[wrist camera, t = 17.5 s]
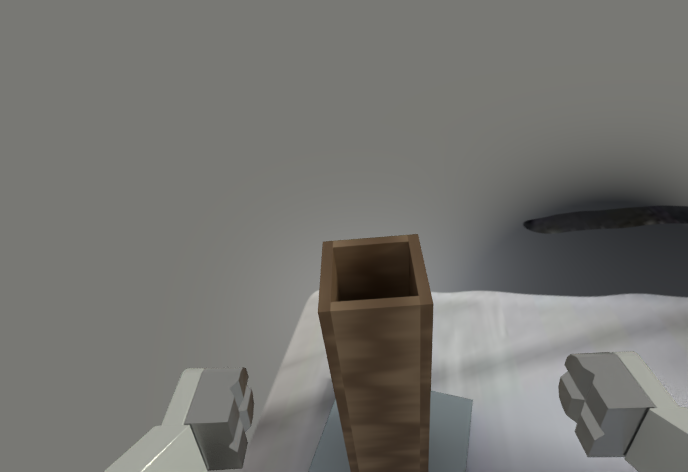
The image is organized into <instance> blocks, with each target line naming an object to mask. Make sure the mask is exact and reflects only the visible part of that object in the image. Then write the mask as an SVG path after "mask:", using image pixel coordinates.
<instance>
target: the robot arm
mask: <svg viewBox="0 0 688 472" xmlns="http://www.w3.org/2000/svg"><path fill="white" fill-rule="evenodd" d="M565 366H566V368H567V370H568V372H566V373H565V374H564V375H563V376H561V378H560V382H559V386H558V387H559V398H560V401H561V404H562V407H563V409H564V411H565V413H566V415H567V416H568V417H570V418H571V419H572V420H574V421H575V422H576V423H577V425H576V429H575V433H576V435H577V437H578V439H579V441H580V443H581V445H582V447H583V449H584V451H585V453H586V455H587V457H625V458H624V459H625V460H626V461H627V462H628V463H629V464H631V465H632V466H633V467H634V468H635V469H636V470H637V471H638V472H688V408H687V407H679V406H678V405H677V403H676V402H675V401H674V399H673V398H672V397H671V396H670V394H669V393H668V392H667V390H666V389H665V388H664V387H663V385H662V384H661V383H660V381H659V380H658V379H657V378H656V376H655V375H654V374H653V373H652V371H651V370H650V369H649V367H648V366H647V365H646V364H645V362H644V361H643V360H642V358H641V357H640V356H639V355H638V354H637V353H635V352H634V351H630V352H612V353H610V352H602V353H583V354H570V355H569V356H568V357H567V359H566V362H565ZM247 381H248V374H247V371H246V368H243V367H242V368H193V369H192V368H191V369H186V370H185V371H184V372H183V373H182V374H181V377H180V379H179V382H178V384H177V387H176V389H175V391H174V394H173V396H172V399H171V401H170V404H169V407H168V409H167V412H166V414H165V416H164V419H163V421H162V424H161V426H154V427H153V428H152V429H151V430H150V431H149V432H148V433H146V434H145V435H144V436H143V437H142V438H141V439H140V440H139V441H137V442H136V443H135V444H134V445H133V446H132V447H131V448H130V449H128V450H127V451H126V452H125V453H124V454H123V455H122V456H121V457H120V458H119V459H117V460H116V461H115V462H114V463H113V464H112V465H111V466H110V467H108V468H107V469H106V470H105V471H104V472H208V471H209V470H225V469H242V468H243V463H244V458H245V453H246V449H247V444H248V442H247V438H246V435H245V432H246V431H247V430H248V429H249V428H250V427H251V424H252V418H253V408H254V401H253V393H252V389H251V388H250V387H249V386H247Z"/></svg>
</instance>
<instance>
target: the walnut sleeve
mask: <svg viewBox="0 0 688 472" xmlns="http://www.w3.org/2000/svg"><path fill="white" fill-rule="evenodd" d="M318 315H319V320H320V325H321V329H322V334H323V339H324V344H325V349H326V354H327V359H328V364H329V369H330V373H331V378H332V383H333V388H334V393H335V398H336V403H337V408H338V412H339V417H340V422H341V427H342V432H343V437H344V442H345V447H346V451H347V456H348V461H349V466H350V471H351V472H428V465H429V432H430V398H431V365H432V331H433V300H432V296H431V291H430V287H429V282H428V278H427V274H426V269H425V264H424V260H423V255H422V252H421V246H420V242H419V237H418V234H413V235H400V236H389V237H376V238H363V239H351V240H338V241H326V242H323V247H322V262H321V276H320V290H319V304H318Z"/></svg>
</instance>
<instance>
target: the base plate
mask: <svg viewBox="0 0 688 472" xmlns="http://www.w3.org/2000/svg"><path fill="white" fill-rule="evenodd" d="M472 402H473V400H471V399H466V398H462V397H457V396H453V395H448V394H444V393H439V392H434V391H431V398H430V432H429V465H428V472H466V462H467V452H468V442H469V432H470V422H471V412H472ZM308 472H351V471H350V466H349V461H348V456H347V451H346V447H345V442H344V437H343V432H342V427H341V422H340V417H339V412H338V408H337V403H336V398H335V401H334V404H333V406H332V409H331V412H330V414H329V417H328V420H327V422H326V425H325V428H324V431H323V433H322V436H321V439H320V441H319V444H318V447H317V450H316V452H315V455H314V458H313V460H312V463H311V466H310V469H309V471H308Z"/></svg>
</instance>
